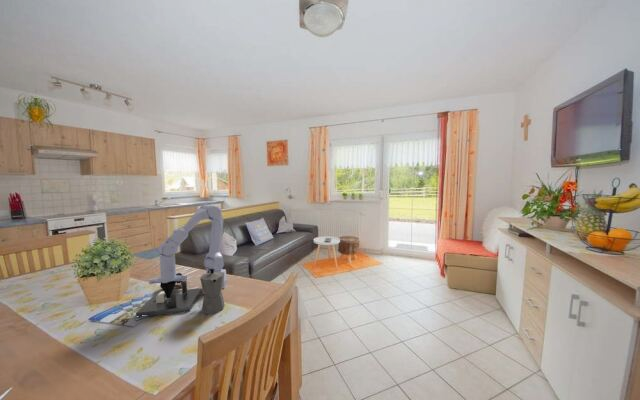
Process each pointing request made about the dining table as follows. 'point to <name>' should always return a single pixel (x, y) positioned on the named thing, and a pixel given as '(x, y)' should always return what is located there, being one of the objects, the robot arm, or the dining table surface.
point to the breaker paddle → (161, 297)
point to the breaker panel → (182, 303)
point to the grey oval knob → (184, 286)
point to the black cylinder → (173, 300)
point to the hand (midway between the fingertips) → (169, 297)
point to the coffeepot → (212, 292)
